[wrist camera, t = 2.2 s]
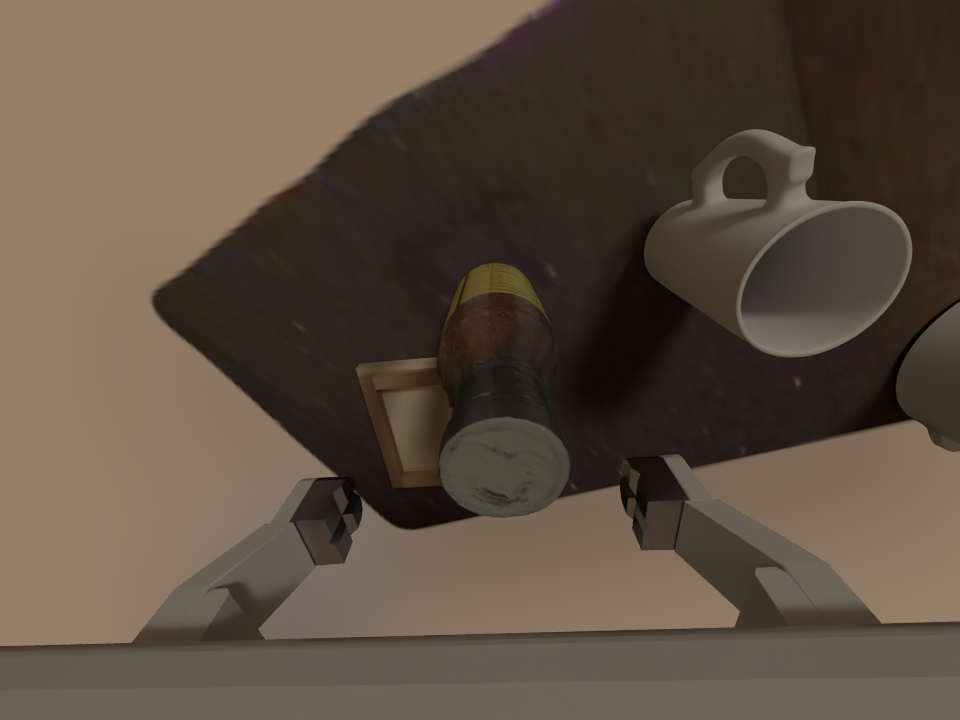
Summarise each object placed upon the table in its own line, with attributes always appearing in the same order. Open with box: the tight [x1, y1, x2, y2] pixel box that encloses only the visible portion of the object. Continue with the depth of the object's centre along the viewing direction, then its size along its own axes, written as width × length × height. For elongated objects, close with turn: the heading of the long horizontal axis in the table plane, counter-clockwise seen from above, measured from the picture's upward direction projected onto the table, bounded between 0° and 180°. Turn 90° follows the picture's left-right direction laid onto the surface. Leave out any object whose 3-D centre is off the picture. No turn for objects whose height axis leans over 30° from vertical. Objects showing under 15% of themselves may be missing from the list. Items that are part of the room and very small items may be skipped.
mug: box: [644, 130, 912, 357], centre depth 20 cm, size 10×7×12 cm, turn 20°
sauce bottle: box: [437, 262, 571, 517], centre depth 19 cm, size 7×6×20 cm
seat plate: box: [356, 357, 453, 488], centre depth 33 cm, size 14×14×2 cm
